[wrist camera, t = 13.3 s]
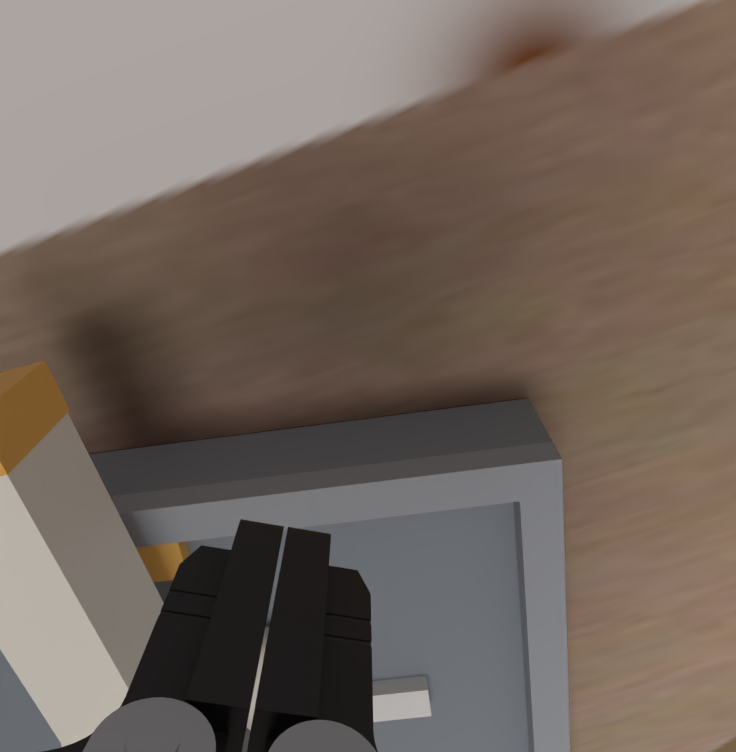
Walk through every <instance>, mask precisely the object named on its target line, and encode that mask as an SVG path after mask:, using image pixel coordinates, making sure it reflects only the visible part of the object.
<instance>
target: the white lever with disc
mask: <svg viewBox="0 0 736 752" xmlns="http://www.w3.org/2000/svg"><path fill="white" fill-rule="evenodd" d="M69 411H70V410H69V408H68V406H67V404H66V402H65V400H64V398H63V396H62V394H61V392H60V390H59V388H58V386H57V384H56V382H55V380H54V378H53V376H52V374H51V372H50V370H49V368H48V366H47V364H46V362H45V360H44V361H40V362H37V363H33V364H29V365H26V366H22V367H19V368H15V369H11V370H8V371H4V372H0V650H1V651H2V653H3V655H4V656H5V658H6V659H7V661H8V662H9V664H10V665H11V667H12V668H13V670H14V672H15V673H16V675H17V676H18V678H19V679H20V681H21V682H22V684H23V685H24V687H25V688H26V690H27V692H28V693H29V695H30V696H31V698H32V699H33V701H34V702H35V704H36V705H37V707H38V709H39V710H40V712H41V713H42V715H43V716H44V718H45V719H46V721H47V722H48V724H49V725H50V727H51V729H52V730H53V732H54V733H55V735H56V736H57V738H58V739H59V741H60V742H61V747H64V746H67V745H70V744H73V743H75V742H77V741H79V740H81V739H83V738H86V737H87V736H89V735H90V734H92V733H93V732H94V731H95V729H96V728H97V726H98V725H99V724H100V723H101V722H102V721H103V720H104V719H105V718H106V717H107V716H109V715H110V714H111V713H112V712H114V711H115V710H117V709H119V707H120V706H121V704H122V703H123V701H124V699H125V697H126V694H127V692H128V689H129V687H130V684H131V682H132V680H133V677H134V675H135V672H136V670H137V667H138V665H139V662H140V660H141V657H142V655H143V653H144V650H145V648H146V645H147V643H148V640H149V638H150V635H151V633H152V631H153V628H154V626H155V623H156V621H157V618H158V616H159V615H160V612H161V608H162V606H163V604H164V603H163V601H162V599H161V597H160V595H159V593H158V591H157V589H156V587H155V585H154V583H153V581H152V579H151V577H150V575H149V573H148V571H147V569H146V567H145V565H144V563H143V561H142V559H141V557H140V555H139V553H138V551H137V549H136V547H135V545H134V543H133V541H132V539H131V537H130V535H129V533H128V531H127V529H126V527H125V525H124V523H123V521H122V519H121V517H120V515H119V513H118V511H117V509H116V507H115V505H114V503H113V501H112V499H111V498H110V496H109V494H108V492H107V490H106V488H105V486H104V484H103V482H102V480H101V478H100V476H99V474H98V472H97V470H96V468H95V466H94V464H93V462H92V460H91V458H90V456H89V454H88V452H87V450H86V448H85V446H84V444H83V442H82V440H81V438H80V436H79V434H78V432H77V430H76V428H75V426H74V424H73V422H72V420H71V418H70V416H69V414H68V412H69ZM268 631H269V627H265V632H264V637H263V643H262V648H261V653H260V659H259V664H258V669H257V675H256V680H255V685H254V691H253V696H252V701H251V706H250V712H249V717H248V722H247V728H246V733H245V738H244V744H243V749H242V752H247V747H248V742H249V736H250V731H251V725H252V720H253V714H254V709H255V703H256V698H257V692H258V687H259V681H260V675H261V670H262V664H263V659H264V653H265V648H266V642H267V637H268Z"/></svg>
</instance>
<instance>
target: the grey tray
mask: <svg viewBox="0 0 736 752" xmlns="http://www.w3.org/2000/svg"><path fill="white" fill-rule="evenodd" d="M89 456H90V458H91V460H92V462H93V464H94V466H95V468H96V470H97V472H98V474H99V476H100V478H101V480H102V482H103V484H104V486H105V488H106V490H107V492H108V494H109V496H110V498H111V499H112V501H113V503H114V505H115V507H116V509H117V511H118V513H119V515H120V517H121V519H122V521H123V523H124V525H125V527H126V529H127V531H128V533H129V535H130V537H131V539H132V541H133V543H134V545H135V547H136V549H137V551H138V553H139V555H140V557H141V559H142V561H143V563H144V565H145V567H146V569H147V571H148V573H149V575H150V577H151V579H152V581H153V583H154V585H155V587H156V589H157V591H158V593H159V595H160V597H161V599H162V601H163V603H164V601H165V599H166V596H167V594H168V593H169V589H170V586H171V584H172V581H173V579H174V577H175V574H176V572H177V569H178V567H179V564H180V563H181V562H183V561H184V560H185V559H186V558H187V557H188V556H189V555H191V554H192V553H193V552H194V551H195V550H196V549H198V548H199V547H200V546H201V545H203V546H209V547H215V548H222V549H228V550H231V548H232V545H233V542H234V539H235V535H236V532H237V529H238V525H239V522H240V520H241V519H242V520H249V521H255V522H261V523H267V524H273V525H279V526H284V529H283V535H282V540H281V546H280V551H279V557H278V562H277V567H276V573H275V578H274V584H273V589H272V594H271V600H270V605H269V611H268V616H267V621H266V627H269V626H270V620H271V615H272V610H273V604H274V599H275V593H276V588H277V583H278V577H279V572H280V567H281V561H282V556H283V551H284V545H285V540H286V535H287V530H288V527H292V528H298V529H304V530H310V531H317V532H323V533H329V534H331V544H330V558H329V566H335V567H341V568H347V569H354V570H358V572H359V574H360V575H361V577H362V579H363V581H364V583H365V584H366V586H367V588H368V590H369V592H370V594H371V634H372V642H371V647H372V683H373V731H374V740H375V744H376V748H377V751H378V752H570V729H569V693H568V657H567V622H566V586H565V550H564V514H563V479H562V458H561V457H560V455H559V453H558V451H557V449H556V448H555V446H554V444H553V442H552V440H551V439H550V437H549V435H548V433H547V432H546V430H545V428H544V426H543V424H542V423H541V421H540V419H539V417H538V416H537V414H536V412H535V410H534V408H533V407H532V405H531V403H530V401H529V400H528V398H526V399H519V400H511V401H503V402H495V403H487V404H479V405H471V406H464V407H456V408H448V409H440V410H432V411H424V412H416V413H408V414H401V415H393V416H385V417H377V418H369V419H361V420H353V421H346V422H338V423H330V424H322V425H314V426H306V427H298V428H290V429H283V430H275V431H267V432H259V433H251V434H243V435H235V436H228V437H220V438H212V439H204V440H196V441H188V442H180V443H173V444H165V445H157V446H149V447H141V448H133V449H125V450H117V451H110V452H102V453H94V454H89ZM57 748H61V742H60V741H59V739H58V738H57V736H56V735H55V733H54V732H53V730H52V729H51V727H50V725H49V724H48V722H47V721H46V719H45V718H44V716H43V715H42V713H41V712H40V710H39V709H38V707H37V705H36V704H35V702H34V701H33V699H32V698H31V696H30V695H29V693H28V692H27V690H26V688H25V687H24V685H23V684H22V682H21V681H20V679H19V678H18V676H17V675H16V673H15V672H14V670H13V668H12V667H11V665H10V664H9V662H8V661H7V659H6V658H5V656H4V655H3V653H2V651H1V650H0V752H42V751H48V750H52V749H57Z"/></svg>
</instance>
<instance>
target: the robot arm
mask: <svg viewBox="0 0 736 752" xmlns="http://www.w3.org/2000/svg"><path fill="white" fill-rule="evenodd" d="M283 529H284V526H279V525H273V524H267V523H261V522H255V521H249V520H242V519H241V520H240V522H239V525H238V529H237V532H236V535H235V539H234V542H233V545H232V548H231V550H228V549H222V548H215V547H209V546H203V545H201V546H200V547H199V548H198V549H196V550H195V551H194V552H193V553H192V554H191V555H189V556H188V557H187V558H186V559H185V560H184V561H183V562H181V563H180V564H179V567H178V569H177V572H176V574H175V577H174V579H173V581H172V584H171V586H170V589H169V593H168V594H167V596H166V599H165V601H164V604H163V606H162V608H161V612H160V615H159V616H158V618H157V621H156V623H155V626H154V628H153V631H152V633H151V635H150V638H149V640H148V643H147V645H146V648H145V650H144V653H143V655H142V657H141V660H140V662H139V665H138V667H137V670H136V672H135V675H134V677H133V680H132V682H131V684H130V687H129V689H128V692H127V694H126V697H125V699H124V701H123V703H122V704H121V706H120V707H119V709H117V710H115V711H114V712H112V713H111V714H110V715H109V716H107V717H106V718H105V719H104V720H103V721H102V722H101V723H100V724H99V725H98V726H97V728H96V729H95V731H94V732H93V733H92V734H90V735H89V736H87V737H86V738H83V739H81V740H79V741H77V742H75V743H73V744H70V745H67V746H64V747H61V748H57V749H52V750H48V751H42V752H242V749H243V744H244V738H245V733H246V728H247V722H248V717H249V712H250V706H251V701H252V696H253V691H254V685H255V680H256V675H257V669H258V664H259V659H260V653H261V648H262V643H263V637H264V632H265V627H266V621H267V616H268V611H269V605H270V600H271V594H272V589H273V584H274V578H275V573H276V567H277V562H278V557H279V551H280V546H281V540H282V535H283ZM330 544H331V534H329V533H323V532H317V531H310V530H304V529H298V528H292V527H288V530H287V535H286V540H285V545H284V551H283V556H282V561H281V567H280V572H279V577H278V583H277V588H276V593H275V599H274V604H273V610H272V615H271V620H270V626H269V631H268V637H267V642H266V648H265V653H264V659H263V664H262V670H261V675H260V681H259V687H258V692H257V698H256V703H255V709H254V714H253V720H252V725H251V731H250V736H249V742H248V747H247V752H378V751H377V748H376V744H375V740H374V731H373V683H372V647H371V642H372V634H371V594H370V592H369V590H368V588H367V586H366V584H365V583H364V581H363V579H362V577H361V575H360V574H359V572H358V570H354V569H347V568H341V567H335V566H329V558H330Z"/></svg>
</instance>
